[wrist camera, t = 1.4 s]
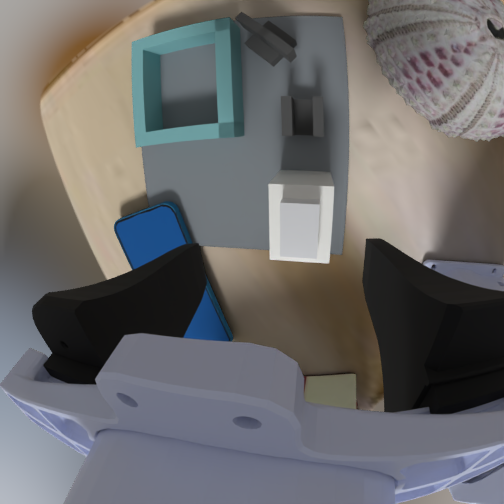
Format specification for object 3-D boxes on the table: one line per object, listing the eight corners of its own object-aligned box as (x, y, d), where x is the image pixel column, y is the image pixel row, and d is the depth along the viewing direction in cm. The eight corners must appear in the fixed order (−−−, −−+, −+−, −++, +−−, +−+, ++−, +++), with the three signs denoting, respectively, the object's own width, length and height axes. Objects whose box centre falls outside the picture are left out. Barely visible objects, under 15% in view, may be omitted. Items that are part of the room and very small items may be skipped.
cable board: (342, 19, 13) (345, -1, 10) (341, 252, 21) (344, 275, 18) (140, 44, 17) (113, 37, 14) (157, 241, 25) (135, 258, 21)
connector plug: (330, 171, 18) (335, 190, 13) (327, 232, 20) (329, 271, 15) (280, 170, 19) (264, 187, 14) (281, 229, 21) (266, 267, 16)
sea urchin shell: (398, 153, 17) (442, 171, 10) (328, -9, 12) (329, -68, 5) (522, 129, 12) (583, 143, 5) (465, -15, 8) (506, -48, 1)
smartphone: (171, 200, 21) (234, 346, 26) (177, 196, 22) (237, 340, 27) (110, 222, 23) (174, 348, 29) (116, 219, 24) (178, 342, 30)
